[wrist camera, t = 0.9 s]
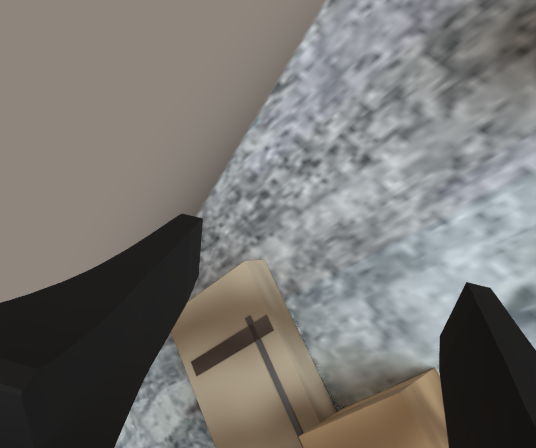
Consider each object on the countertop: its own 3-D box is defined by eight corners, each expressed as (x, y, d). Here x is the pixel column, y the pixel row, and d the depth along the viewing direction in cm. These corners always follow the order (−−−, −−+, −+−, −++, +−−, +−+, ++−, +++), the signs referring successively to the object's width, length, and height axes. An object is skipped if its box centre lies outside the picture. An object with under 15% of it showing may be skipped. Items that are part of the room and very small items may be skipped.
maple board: (427, 602, 25) (414, 629, 23) (311, 623, 29) (292, 647, 27) (264, 259, 31) (243, 260, 30) (186, 314, 35) (164, 318, 34)
